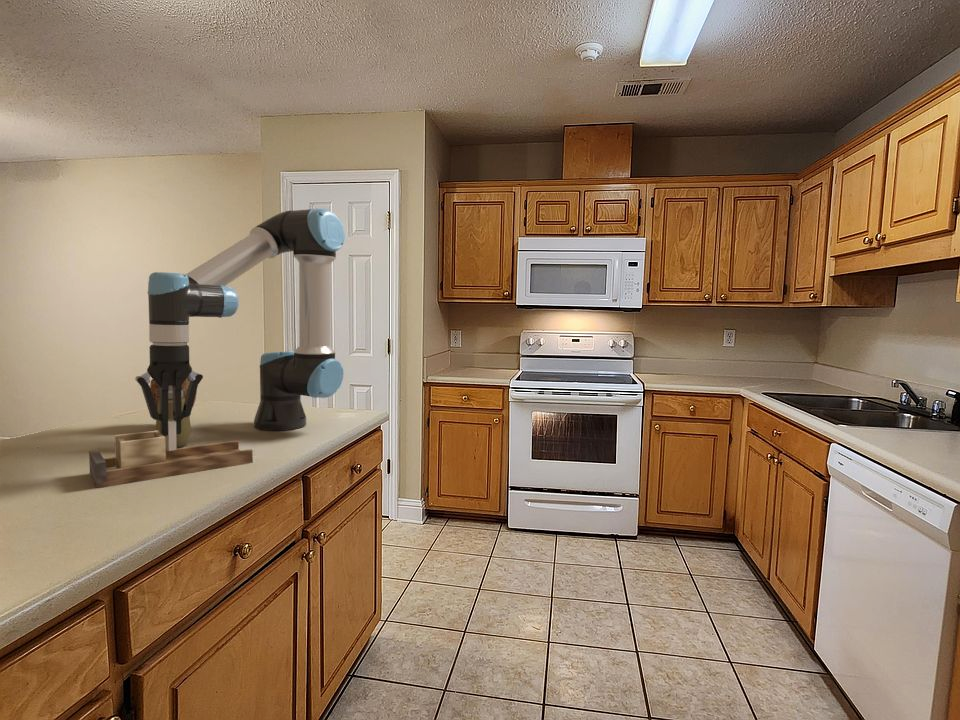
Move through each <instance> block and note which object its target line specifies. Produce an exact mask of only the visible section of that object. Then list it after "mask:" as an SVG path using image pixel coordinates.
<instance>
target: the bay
mask: <svg viewBox="0 0 960 720" xmlns="http://www.w3.org/2000/svg"><path fill="white" fill-rule="evenodd" d="M239 444H240V442H239V440H231V441H224V442H215V443H208V444H202V445H200V444H199V445H195V446H185V447H178V448H177V450H172V451H169V450H167V449H166V462H161V463H154V464H147V465H140V466H133V467H127V468H120V469H117V468H116V457H115V456H111V457H103V455H102V453H101V452H100V450H99V449H95V450H94V449H93V450H88V458H89V459H88V460H89V462H88V463H89V465H88V466H89V476H90V478H91V479H92V482H93V483H94V485H95V487H96V489H99V488H100V489H101V488H106V487H113V486H119V485H125V484H132V483H137V482H143V481H148V480H155V479H156V480H157V479H161V478H162V479H163V478H166V477H175V476H179V475H186V474H191V473H196V472H197V473H198V472H203V471H209V470H216V469H222V468H223V469H224V468H228V467H234V466H235V467H236V466H240V465H248V464H252V463H254V458H253V456H254V455H253V452H254V451H253V449H251V448H250V449H249V448H248V449H244V450H241V449H239V448H240V447H239Z"/></svg>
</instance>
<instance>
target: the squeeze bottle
mask: <svg viewBox="0 0 960 720" xmlns="http://www.w3.org/2000/svg"><path fill="white" fill-rule="evenodd" d="M182 397H183V391H182V390H181V403H182V410H183V406H184V402H185V399H184V398H182ZM157 411H158V414H160V401H159V402H158V409H157ZM168 415H169V419H174V418H173V390H172V385H171V386H169V390H168ZM190 416H191V415H190ZM190 416H189V417H185V418H183V419H182V420H181V434H176V447H177V448H183V447H184V446H185V447H186V446H187V444H188V441H189V438H190V435H191V433H192V427H191V417H190ZM169 419H168V420H169ZM155 421H156V422H155V430H154V431H159V432H160V433H161V428H160V421H159V420H155ZM164 437H165V443H166V436H164Z"/></svg>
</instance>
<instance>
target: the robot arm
mask: <svg viewBox="0 0 960 720" xmlns="http://www.w3.org/2000/svg"><path fill="white" fill-rule="evenodd" d="M345 237H346V235H345V229H344V226H343V223H342V221H341V220H340V219H339V216H337V215H336V213H334V212H333V211H331V210H330V209H325V208H323V209H322V208H309V209H299V210H298V209H297V210H286V211H282V212H280V213H278V214H274V216H271V217H270V218H267V219H266V220H264V221H263V222H261V223H259V224H258V225H256V226H255V227H253V228H251V229H250V231H249V234H248V235H247V236H245V237H243V239H240V240H239V241H237V242H236V243H234V244H232V245H231V246H229V247H228V248H226V249H224V250H223V251H221V252H219V253H218V254H216V255H215V256H213V257H212V258H210V259H208V260H207V261H205V262H204V263H201V264H200V265H199V266H196V267H195V268H193V269H192V270H191V271H189V272H187V273H176V272H161V271H160V272H158V271H156V272H152V273H150V274H149V276H148V286H147V288H148V289H147V296H148V322H149V325H148V328H149V330H148V331H149V332H148V333H149V337H148V338H149V342H150V343H152V344H151V345H149V365H148V367H147V369H146V372H144V373H143V374H141V375H138V376H135V378H134V379H135V381H136V382H137V383H138V384H139V386H140V388H141V390H142V391H141V392H142V393H143V396H144V400H145V403H146V407H147V410H148V413H149V416H150V418H151V419H153V420H154V421H156V420H159V421H160V428H161V434H162V435H163V436H166V450H169V451H172V450H177V447H176V434H181V420H182V419H183V418H185V417H189V416H191V415H192V414H191V413H192V410H193V408H194V406H193V403H194V399H195V395H196V396H197V393H196V391H197V392H198V386H199V384H200V383H201V381H202V380H203V379H204V376H203V374H201V373H198V372H196V371H194V370H193V368H192V366H191V364H190V363H191V362H190V346H189V344H188V343H189V342H190V318H191V317H192V318H196V317H197V318H198V317H199V318H221V319H222V318H229V317H232V316H234V315H235V314H236V312H238V311H237V310H238V309H239V296H238V294H237V292H236V290H235V289H234V288H232V287H231V286H229V284H230V283H232V282H234V281H235V280H236V279H238V278H239V277H241V276H242V275H244V274H245V273H246V272H249V271H250V270H251V269H253V268H254V267H255V266H257V265H259V264H260V263H262V262H263V261H265V260H266V259H274V258H276V257H277V256H279V255H281V254H284V253H290V252H293V257H294V258H295V260H297V261H298V263H299V264H298V265H299V266H298V268H299V269H298V270H299V271H298V277H299V279H298V283H299V284H298V285H299V286H298V287H299V288H298V289H299V290H298V291H299V292H298V293H299V294H298V295H299V296H298V299H299V300H298V302H299V303H298V304H299V305H298V308H299V309H298V312H299V313H298V315H299V317H298V318H299V320H298V325H299V328H298V331H299V333H298V334H299V338H298V340H299V341H298V342H299V343H298V347H297V348H295V350H288V351H287V350H285V351H274V352H273V351H271V352H264V353H262V355H261V357H260V361H259V381H260V382H259V393H260V398H259V399H260V400H259V404H258V407H257V410H256V414H255V416H254V419H253V427H254V428H255V429H257V430H262V431H289V430H290V431H291V430H297V429H301V428H304V427H305V426H306V425H307V415H306V413H305V410H304V409H305V408H304V407H303V403H302V399H301V396H306V397H310V398H315V399H317V398H318V399H321V398H322V399H326V398H329V397H331V396H334V395H335V394H336V393H337V392H338V390H339V389H340V387H341V385H342V382H343V380H344V379H343V378H344V374H345V373H344V367H343V365H342V363H341V362H340V361H339V360H337V359H336V350H334V349H333V347H331V264H332V263H333V262H334V261H335V260H336V259H337V252H338V251H339V250H340V249H342V247H343V245H344V243H345ZM227 285H228V286H227ZM186 343H187V345H186ZM189 375H190V377H189V379H190V380H191V381H190V383H189V386H188V390H187V394H186V398H185V402H184V406H183V410H182V403H181V390H182V383H183V382H184V381H185V380H186V378H187V377H188V376H189ZM150 377H151V378H150ZM150 379H153V380H154V381H155V382H156V383H157V384H158V385H159V399H160V414H158V411H157V408H156V405H155V402H154V398H153V395H152V392H151V389H150V383H151V380H150ZM171 385H172V390H173V418H174V419H169V415H168V390H169V386H171ZM195 400H196V399H195ZM194 404H195V403H194ZM192 407H193V408H192ZM168 419H169V420H168Z"/></svg>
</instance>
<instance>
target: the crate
mask: <svg viewBox="0 0 960 720" xmlns="http://www.w3.org/2000/svg"><path fill="white" fill-rule="evenodd" d="M114 450H115V451H114V452H115V454H114V455H115V456H114V457H116V468H117V469H120V468H127V467H133V466H140V465H147V464H154V463H161V462H166V450H167V449H166V443H165V437H164V436H163V435H162V434H161V433H160V432H159V431H155V430H152V431H151V430H150V431H139V432H131V433H124V434H115V435H114Z"/></svg>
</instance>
